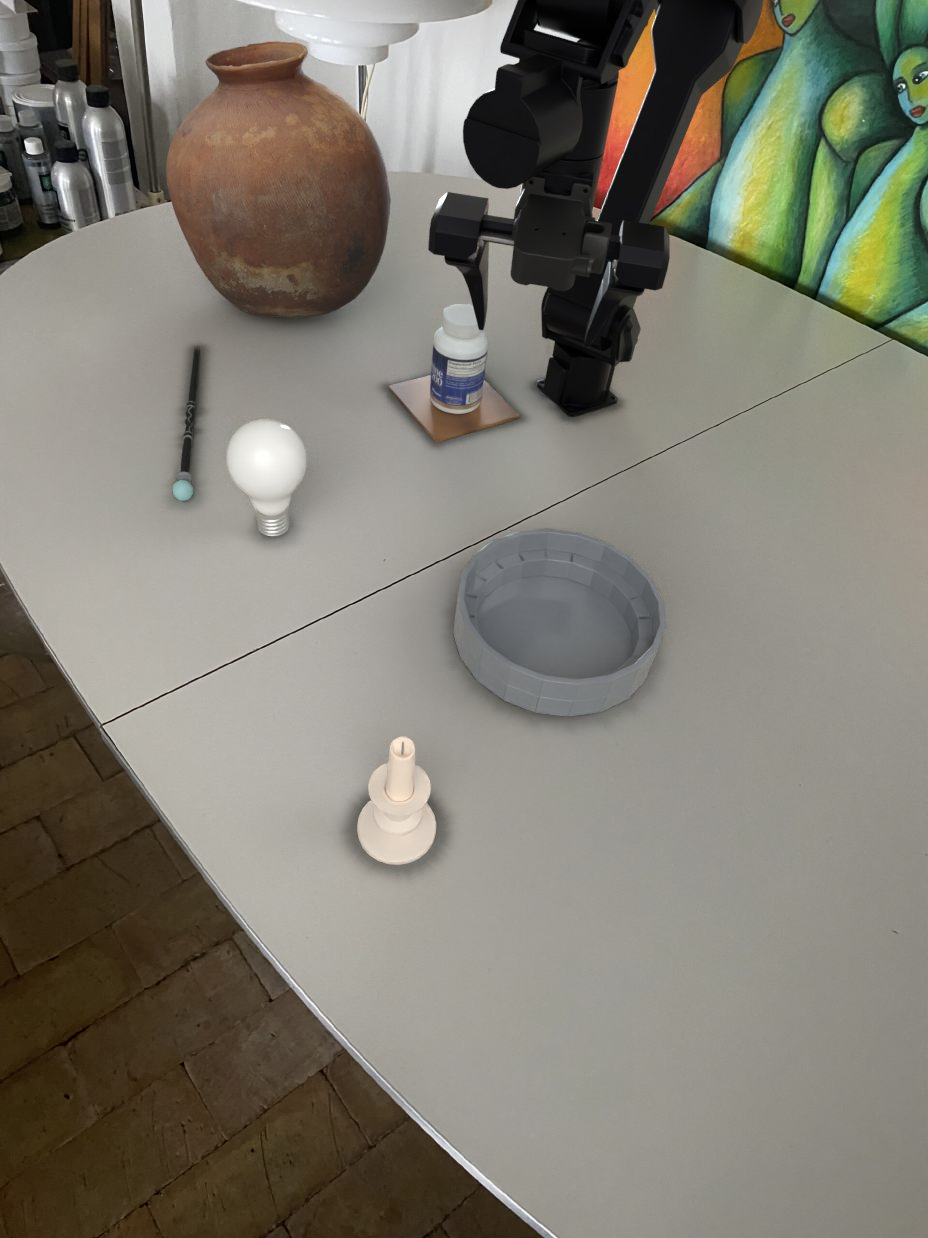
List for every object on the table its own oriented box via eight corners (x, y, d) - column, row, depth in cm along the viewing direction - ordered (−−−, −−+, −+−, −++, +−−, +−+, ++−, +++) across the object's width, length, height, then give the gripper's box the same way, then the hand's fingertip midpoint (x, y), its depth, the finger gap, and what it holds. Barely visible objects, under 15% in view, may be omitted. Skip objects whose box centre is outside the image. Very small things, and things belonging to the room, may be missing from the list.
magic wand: (200, 357, 93) (208, 344, 93) (186, 508, 77) (196, 494, 76) (185, 348, 92) (193, 336, 92) (167, 499, 76) (177, 486, 75)
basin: (574, 545, 78) (584, 507, 74) (691, 672, 69) (708, 635, 66) (417, 604, 71) (420, 565, 68) (525, 752, 63) (534, 716, 59)
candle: (438, 864, 56) (451, 780, 49) (357, 867, 56) (357, 782, 48) (433, 793, 60) (445, 704, 52) (357, 795, 59) (357, 705, 51)
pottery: (396, 351, 96) (405, 99, 77) (178, 350, 92) (132, 86, 74) (380, 252, 111) (385, 21, 92) (192, 248, 107) (157, 6, 88)
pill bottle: (427, 384, 91) (433, 297, 84) (478, 386, 92) (488, 300, 85) (430, 415, 88) (437, 327, 81) (483, 416, 89) (494, 329, 81)
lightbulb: (323, 519, 77) (319, 415, 69) (290, 565, 73) (282, 461, 65) (258, 499, 78) (246, 394, 70) (222, 543, 74) (205, 437, 66)
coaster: (469, 367, 95) (469, 364, 95) (519, 418, 90) (520, 415, 89) (388, 388, 91) (388, 385, 91) (435, 442, 86) (435, 439, 85)
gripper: (420, 167, 59) (410, 368, 71) (694, 211, 58) (638, 407, 70) (448, 111, 66) (434, 301, 78) (690, 149, 66) (640, 335, 77)
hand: (533, 336), depth 76 cm, fingers open, 9 cm apart
